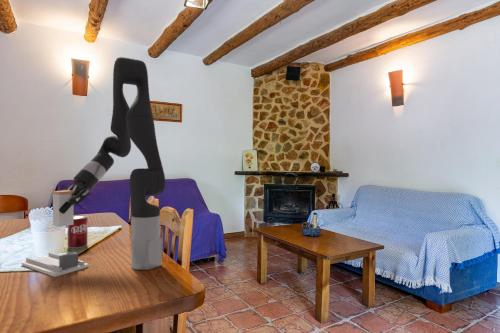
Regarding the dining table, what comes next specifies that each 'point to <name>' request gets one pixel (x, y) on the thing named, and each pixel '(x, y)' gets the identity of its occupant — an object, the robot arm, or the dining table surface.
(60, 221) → the block
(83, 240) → the soda can
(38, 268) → the rail board
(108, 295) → the dining table surface
